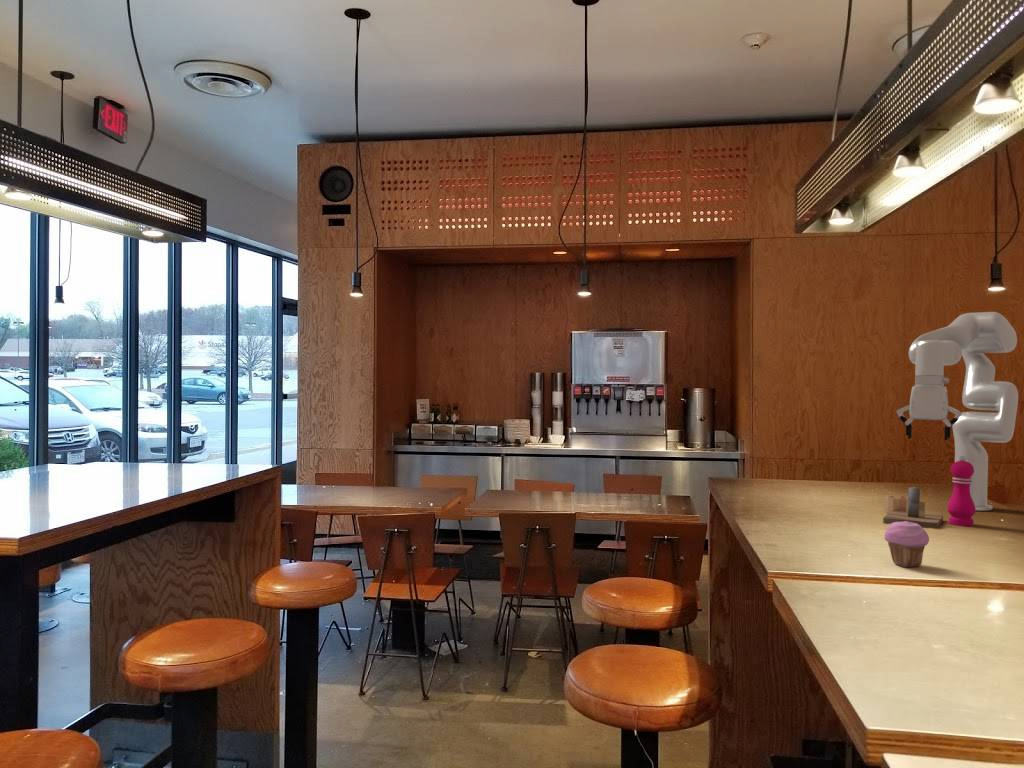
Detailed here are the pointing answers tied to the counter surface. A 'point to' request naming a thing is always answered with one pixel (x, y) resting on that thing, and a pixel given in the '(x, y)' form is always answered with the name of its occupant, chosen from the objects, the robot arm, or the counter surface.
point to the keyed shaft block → (914, 512)
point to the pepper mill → (961, 494)
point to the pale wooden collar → (896, 504)
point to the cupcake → (906, 543)
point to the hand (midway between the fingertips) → (927, 439)
